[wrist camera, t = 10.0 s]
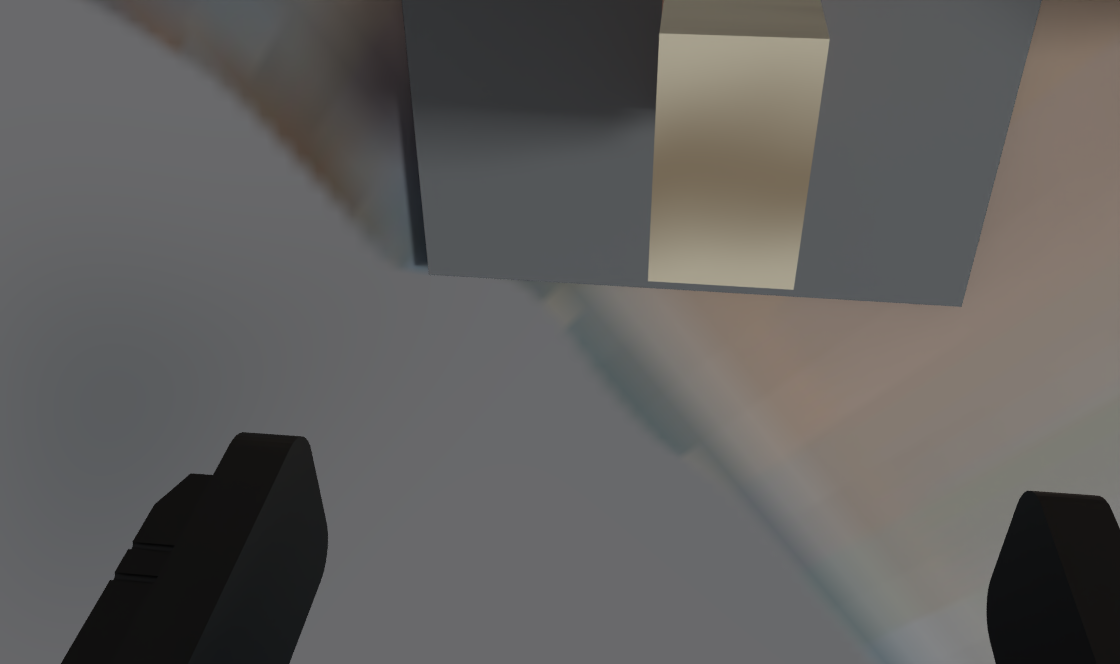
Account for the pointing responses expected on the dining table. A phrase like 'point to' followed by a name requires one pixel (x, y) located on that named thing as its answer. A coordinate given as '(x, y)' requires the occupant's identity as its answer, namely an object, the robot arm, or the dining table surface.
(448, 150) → the charcoal mat
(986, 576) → the dining table surface
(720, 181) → the maple brick
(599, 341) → the dining table surface
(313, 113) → the dining table surface
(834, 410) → the dining table surface
